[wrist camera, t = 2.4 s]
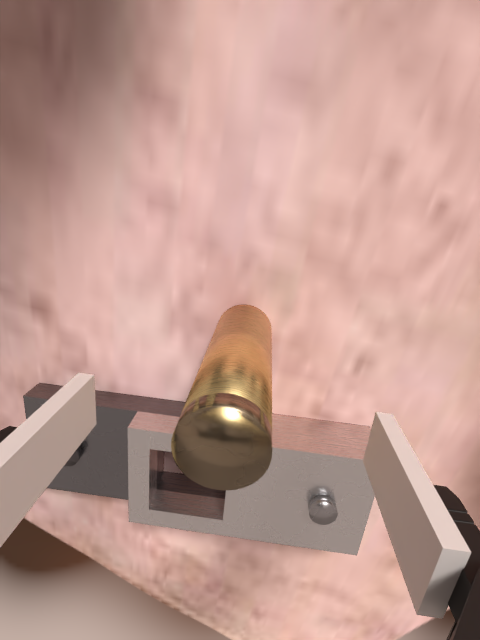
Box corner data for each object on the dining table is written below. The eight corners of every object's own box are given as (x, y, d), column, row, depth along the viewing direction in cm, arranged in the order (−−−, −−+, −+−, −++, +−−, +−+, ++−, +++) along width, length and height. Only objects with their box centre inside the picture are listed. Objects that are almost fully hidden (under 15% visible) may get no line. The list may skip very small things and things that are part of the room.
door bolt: (39, 382, 29) (-4, 417, 25) (369, 426, 28) (388, 471, 23) (48, 469, 32) (12, 514, 28) (346, 511, 31) (359, 565, 26)
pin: (206, 325, 26) (150, 441, 14) (248, 293, 25) (227, 388, 13) (240, 364, 27) (215, 504, 15) (282, 335, 26) (292, 460, 14)
